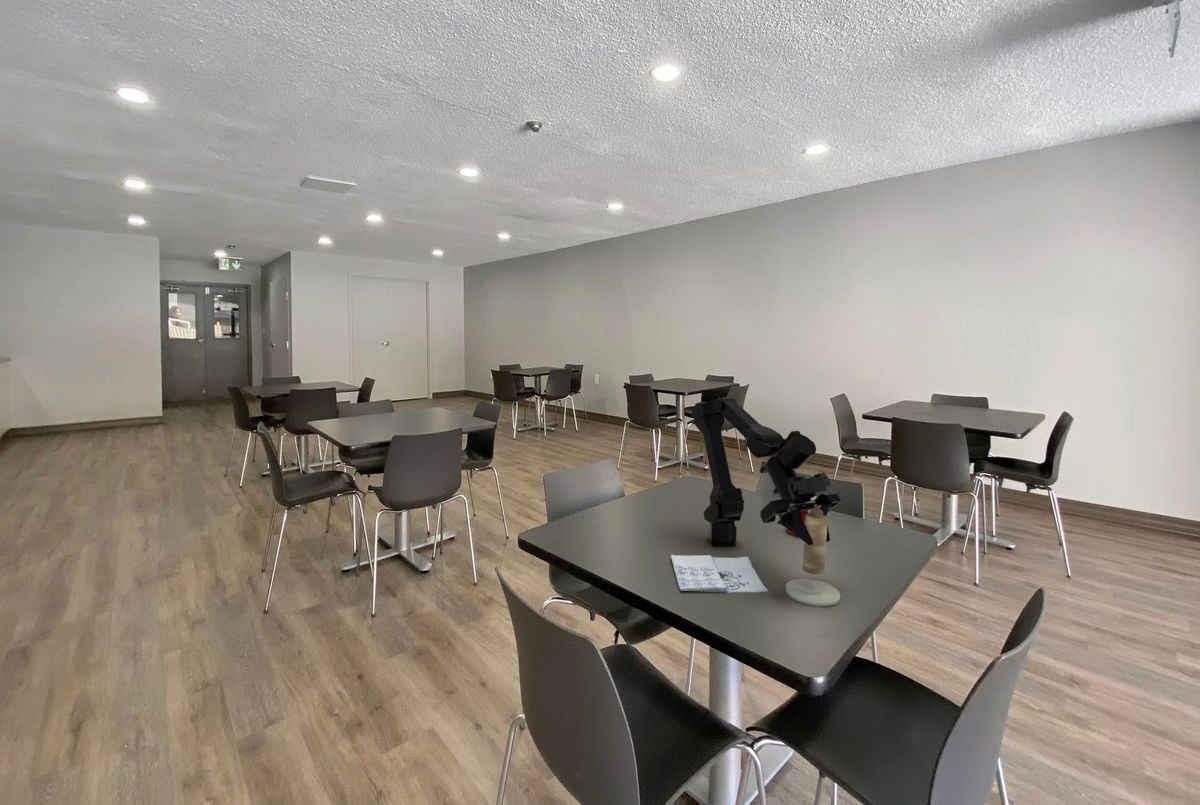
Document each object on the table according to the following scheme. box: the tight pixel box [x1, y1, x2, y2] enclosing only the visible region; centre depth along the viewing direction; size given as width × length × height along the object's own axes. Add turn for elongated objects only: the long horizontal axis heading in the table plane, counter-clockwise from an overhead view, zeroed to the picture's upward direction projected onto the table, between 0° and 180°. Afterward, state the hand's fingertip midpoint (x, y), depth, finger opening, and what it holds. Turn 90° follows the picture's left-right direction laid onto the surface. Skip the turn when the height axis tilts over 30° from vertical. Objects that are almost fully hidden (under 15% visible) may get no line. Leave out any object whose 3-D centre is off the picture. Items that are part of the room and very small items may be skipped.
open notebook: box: [670, 554, 769, 594], centre depth 127 cm, size 19×20×2 cm
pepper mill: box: [802, 508, 828, 575], centre depth 116 cm, size 4×4×14 cm
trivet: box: [785, 578, 841, 608], centre depth 117 cm, size 11×11×1 cm
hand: (819, 542), depth 115 cm, fingers closed on pepper mill, 4 cm apart
